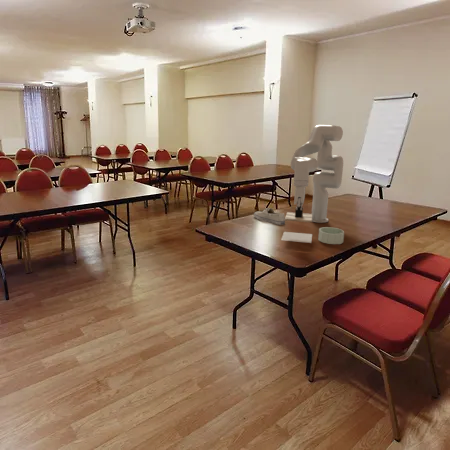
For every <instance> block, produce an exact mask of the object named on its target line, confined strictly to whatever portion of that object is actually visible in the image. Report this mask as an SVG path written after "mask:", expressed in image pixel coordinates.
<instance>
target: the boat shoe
mask: <svg viewBox="0 0 450 450" xmlns="http://www.w3.org/2000/svg"><path fill="white" fill-rule="evenodd" d="M253 217H254V218H255V219H257V220H258V221H259V220H260V221H265V222H269V223H272V224H274V225H277V226H282V225H283V226H284V225H286V221H285V217H286V216H285V213H284V212H283V213H280V212H275V210H274V209H273V208H272V207H267V208H264V210H263V211H258V210H257V211H255V212H254V213H253Z"/></svg>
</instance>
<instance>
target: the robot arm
mask: <svg viewBox="0 0 450 450" xmlns="http://www.w3.org/2000/svg"><path fill="white" fill-rule="evenodd" d="M343 130H344V129H343V128H342V127H341V126H340V125H336V124H335V125H334V124H333V125H331V124H317V125H315V126H314V127H313V128H312V130H311V133H310V134H309V137H308V139H307V142H306V143H304V144H302V145H300V146H299V147H298V148H296V150H295V151H294V152H293V154H292V157H291V160H290V168H291V169H292V170H293V171H294V176H293V186H294V187H295V188H294V201H293V204H294V205H296V207H297V208H296V207H295V209H296V217H302V208H303V205H304V204H305V198H306V189H307V187H309V178H310V176H309V175H310V173H313V172H315V171H316V170H317V169H318V170H322V171H316V172H315V173H314V174H313V176H312V184H313V188H312V189H313V193H312V204H311V214H312V221H311V223H316V224H317V223H319V224H324V223H325V224H326V223H328V222H329V218H327V215H328V204H329V203H328V202H329V192H328V190H327V189H339V188H341V186H342V181H343V179H342V178H343V171H344V158H343V157H342V156H341V155H339V154H338V155H336V154H332V153H333V145H332V143H331V142H340V141H341V140H342V138H343V135H344V131H343ZM316 153H317V157H316V158H315V157H307V156H309V155H313V154H316ZM325 171H326V172H325ZM327 171H332V172H327ZM326 188H327V189H326Z"/></svg>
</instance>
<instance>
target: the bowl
mask: <svg viewBox="0 0 450 450" xmlns="http://www.w3.org/2000/svg"><path fill="white" fill-rule="evenodd" d="M344 239H345V231H344V230H343V229H341V228H338V227H330V226H325V227H319V228H318V241H319V242H321V243H324V244H329V245H341V244H344Z"/></svg>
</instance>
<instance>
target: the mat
mask: <svg viewBox="0 0 450 450" xmlns="http://www.w3.org/2000/svg"><path fill="white" fill-rule="evenodd" d="M312 238H313V233H304V232H291V231H283V234H282V236H281V239H280V240H281V241H287V242H294V243H295V242H298V243H306V244H307V243H309V244H312Z"/></svg>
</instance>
